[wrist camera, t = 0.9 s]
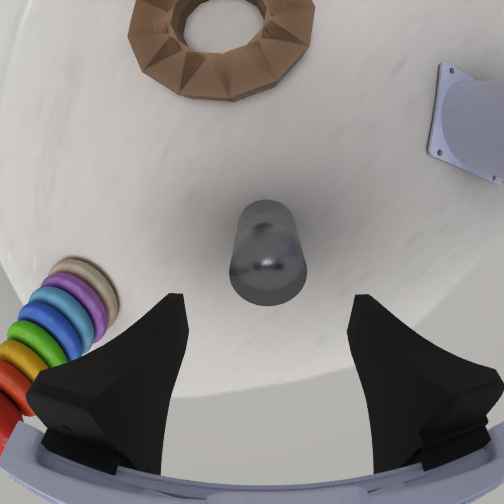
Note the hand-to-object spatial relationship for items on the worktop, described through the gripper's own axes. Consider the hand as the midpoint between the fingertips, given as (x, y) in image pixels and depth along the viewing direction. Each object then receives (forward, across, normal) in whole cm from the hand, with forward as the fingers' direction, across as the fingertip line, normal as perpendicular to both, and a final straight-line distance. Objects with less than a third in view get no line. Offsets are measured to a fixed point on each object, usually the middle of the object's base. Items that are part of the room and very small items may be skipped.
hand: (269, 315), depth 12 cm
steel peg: (+10, 0, 0) cm, 10 cm away
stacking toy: (+11, +17, +7) cm, 21 cm away
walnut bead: (+10, +3, -14) cm, 18 cm away
